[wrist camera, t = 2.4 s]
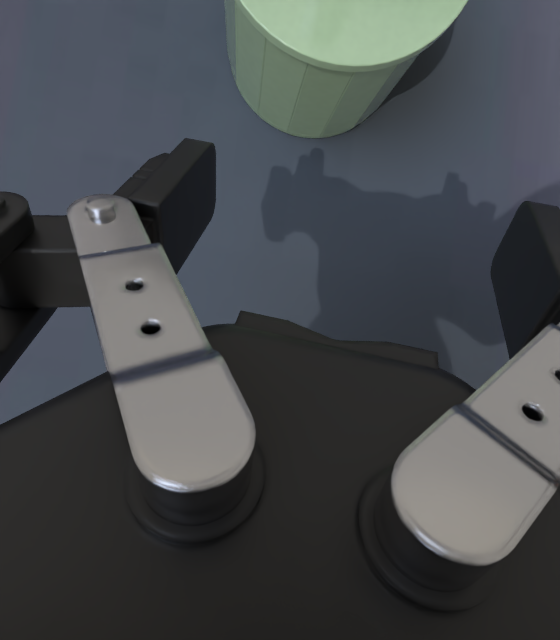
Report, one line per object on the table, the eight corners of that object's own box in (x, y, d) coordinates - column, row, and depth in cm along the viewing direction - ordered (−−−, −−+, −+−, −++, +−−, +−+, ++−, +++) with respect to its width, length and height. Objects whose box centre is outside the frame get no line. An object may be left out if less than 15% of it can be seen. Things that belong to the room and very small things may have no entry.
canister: (404, -19, 28) (487, -175, 19) (382, 149, 29) (452, 81, 19) (238, -50, 27) (237, -231, 18) (219, 125, 28) (209, 40, 18)
